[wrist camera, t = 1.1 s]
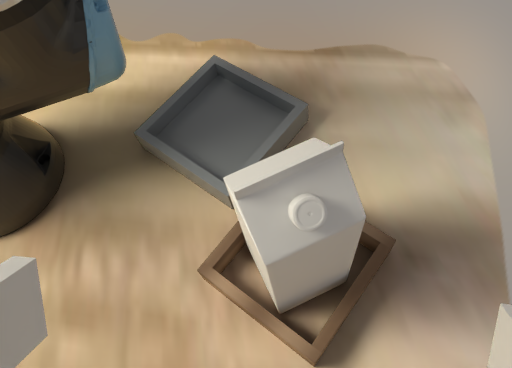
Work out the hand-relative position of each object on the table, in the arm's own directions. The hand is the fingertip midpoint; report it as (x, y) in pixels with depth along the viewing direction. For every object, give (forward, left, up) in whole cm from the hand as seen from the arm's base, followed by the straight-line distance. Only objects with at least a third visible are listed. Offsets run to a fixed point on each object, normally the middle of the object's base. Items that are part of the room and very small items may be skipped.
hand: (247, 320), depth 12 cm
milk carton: (-5, +9, -28) cm, 30 cm away
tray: (-21, +17, -28) cm, 39 cm away
